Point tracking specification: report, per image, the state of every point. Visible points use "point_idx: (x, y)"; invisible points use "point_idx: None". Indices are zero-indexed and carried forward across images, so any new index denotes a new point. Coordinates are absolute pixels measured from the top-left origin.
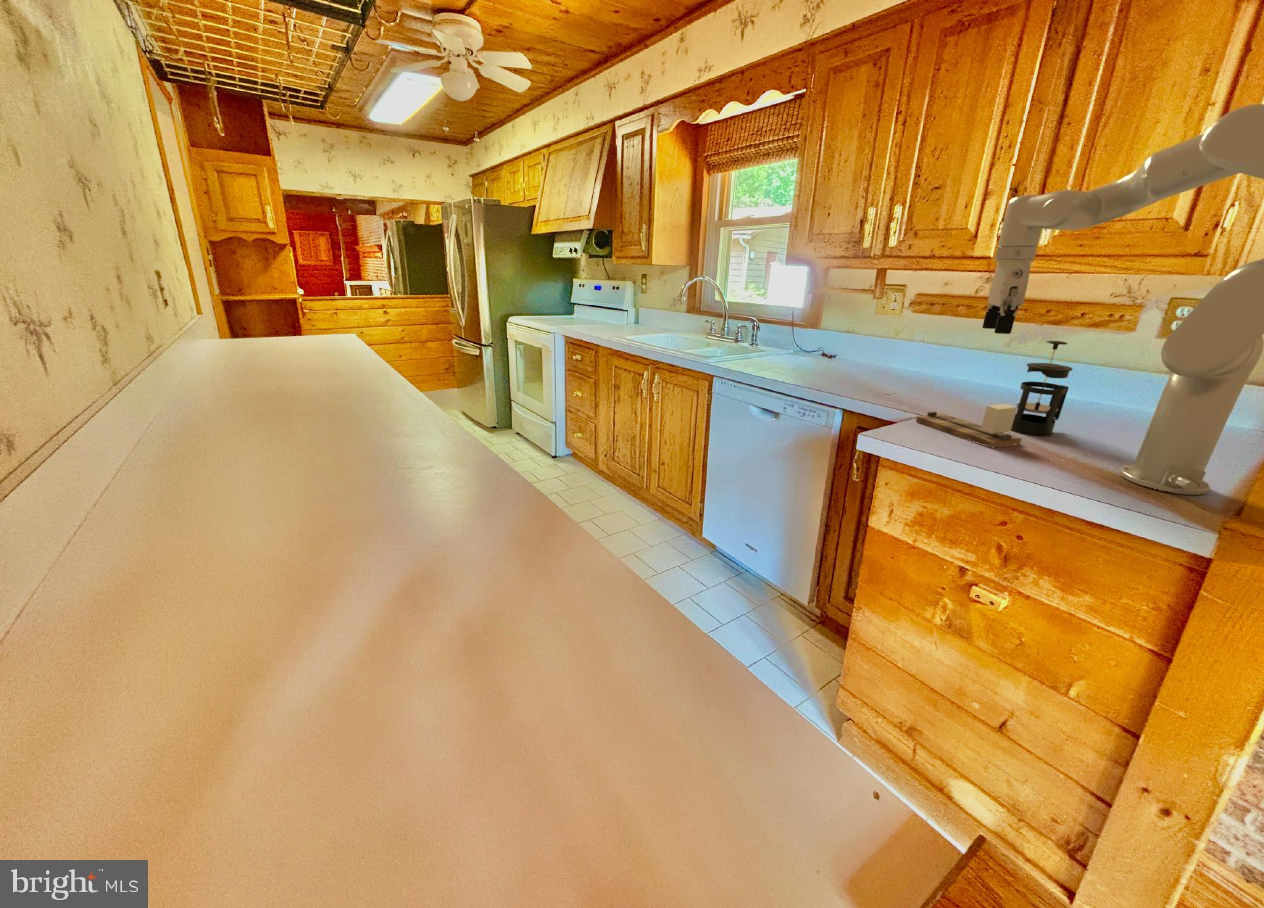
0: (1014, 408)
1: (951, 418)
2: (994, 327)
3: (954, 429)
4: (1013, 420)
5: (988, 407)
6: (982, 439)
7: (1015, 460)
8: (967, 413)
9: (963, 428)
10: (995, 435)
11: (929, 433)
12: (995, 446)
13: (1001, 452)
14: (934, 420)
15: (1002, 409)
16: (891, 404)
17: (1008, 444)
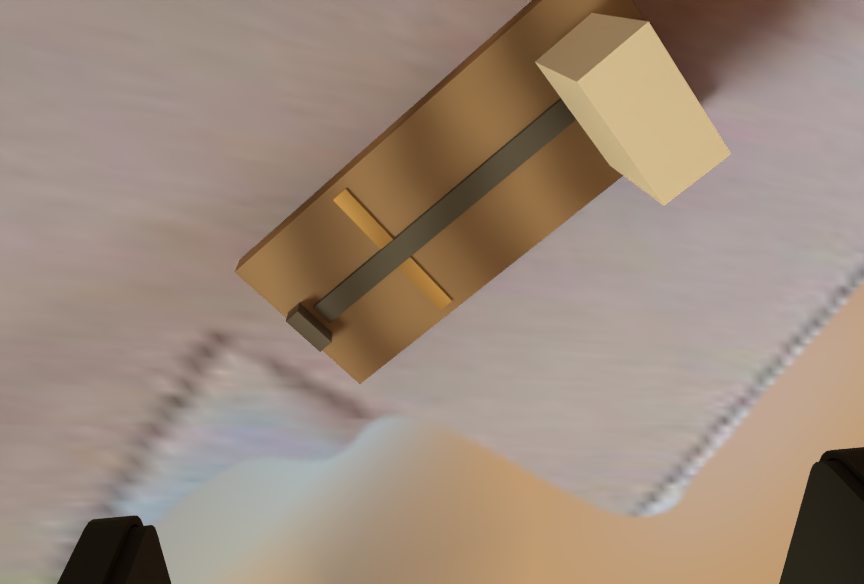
0: (657, 41)
1: (324, 238)
2: (152, 565)
3: (528, 250)
4: (615, 17)
5: (672, 196)
6: None
7: (829, 46)
8: (18, 98)
9: (500, 209)
10: None
11: (529, 329)
12: None
13: (732, 79)
14: (402, 318)
15: (715, 130)
16: (60, 454)
17: None
